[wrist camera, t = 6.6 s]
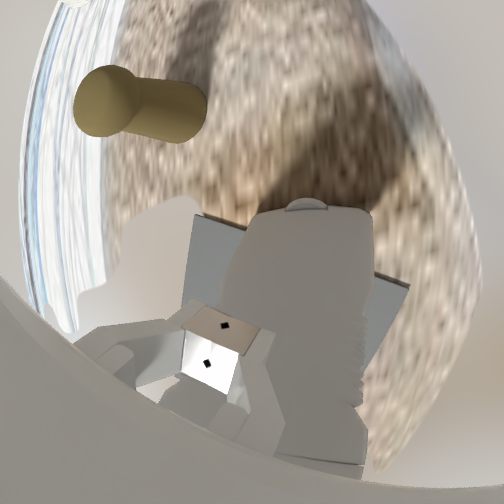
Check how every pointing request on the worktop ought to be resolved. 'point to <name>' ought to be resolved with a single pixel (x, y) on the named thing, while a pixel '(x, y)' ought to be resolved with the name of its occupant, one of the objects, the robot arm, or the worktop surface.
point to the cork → (138, 106)
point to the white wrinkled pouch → (302, 329)
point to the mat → (221, 253)
